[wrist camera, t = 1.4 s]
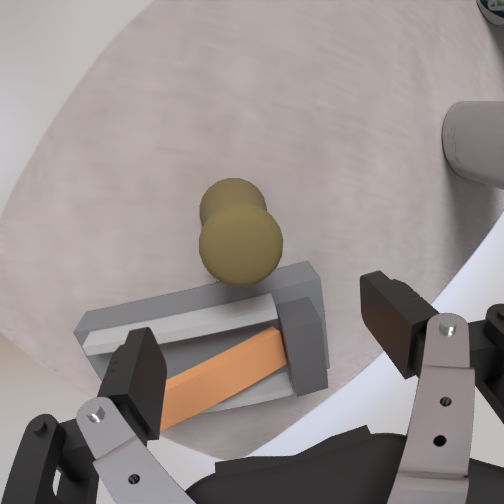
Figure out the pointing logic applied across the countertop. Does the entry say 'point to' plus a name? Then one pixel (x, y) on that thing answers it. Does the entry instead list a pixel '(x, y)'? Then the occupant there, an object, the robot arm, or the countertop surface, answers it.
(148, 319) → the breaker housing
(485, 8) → the lotion bottle
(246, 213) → the olive pawn figure
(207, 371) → the lever
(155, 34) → the countertop surface
